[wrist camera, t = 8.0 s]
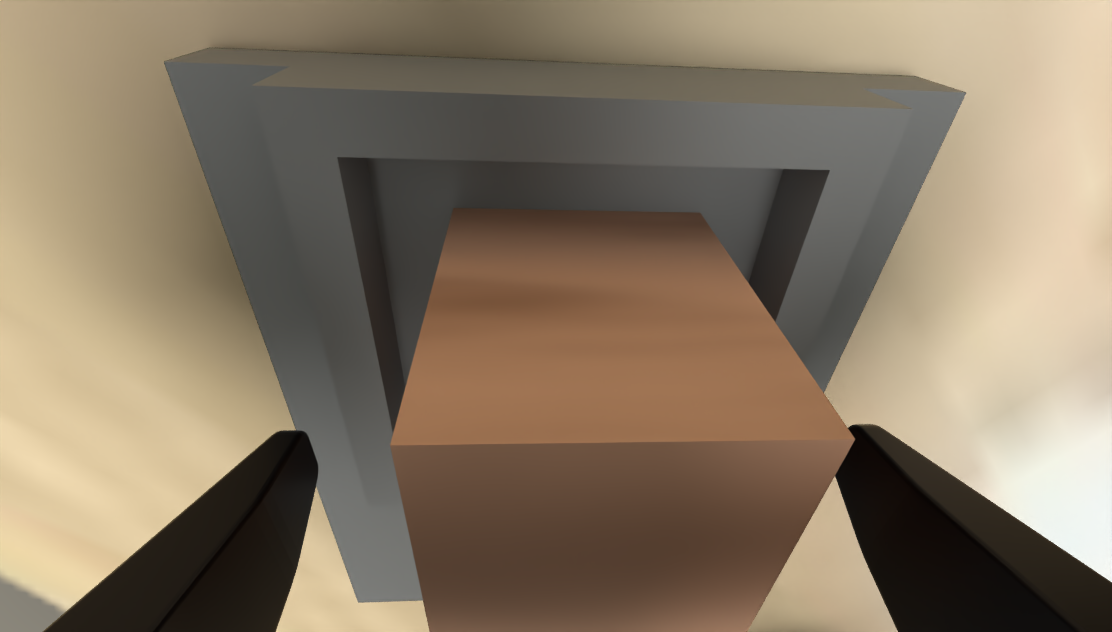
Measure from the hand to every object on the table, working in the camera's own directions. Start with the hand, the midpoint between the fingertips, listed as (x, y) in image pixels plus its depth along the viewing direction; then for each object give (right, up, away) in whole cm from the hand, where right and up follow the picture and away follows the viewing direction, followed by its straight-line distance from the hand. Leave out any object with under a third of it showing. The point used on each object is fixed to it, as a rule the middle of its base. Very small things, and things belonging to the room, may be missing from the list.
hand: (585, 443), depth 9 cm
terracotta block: (0, +2, +3) cm, 4 cm away
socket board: (0, 0, +7) cm, 7 cm away
